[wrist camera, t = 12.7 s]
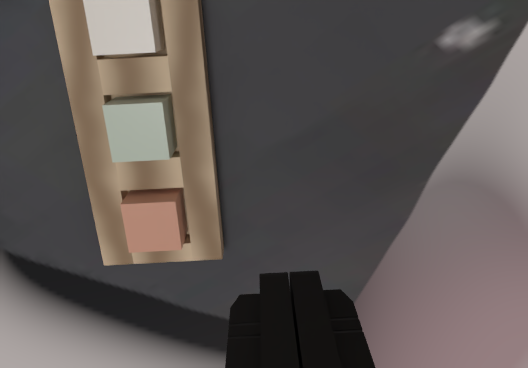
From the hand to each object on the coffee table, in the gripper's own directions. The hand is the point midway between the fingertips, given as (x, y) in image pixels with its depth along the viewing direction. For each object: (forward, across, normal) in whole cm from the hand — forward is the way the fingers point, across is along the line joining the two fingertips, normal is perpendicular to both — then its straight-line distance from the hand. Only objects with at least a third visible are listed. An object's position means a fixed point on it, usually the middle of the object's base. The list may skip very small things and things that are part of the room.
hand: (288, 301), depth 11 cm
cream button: (+31, +11, -7) cm, 34 cm away
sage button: (+31, +11, +2) cm, 33 cm away
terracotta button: (+31, +11, +11) cm, 35 cm away
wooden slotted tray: (+32, +11, +2) cm, 34 cm away
